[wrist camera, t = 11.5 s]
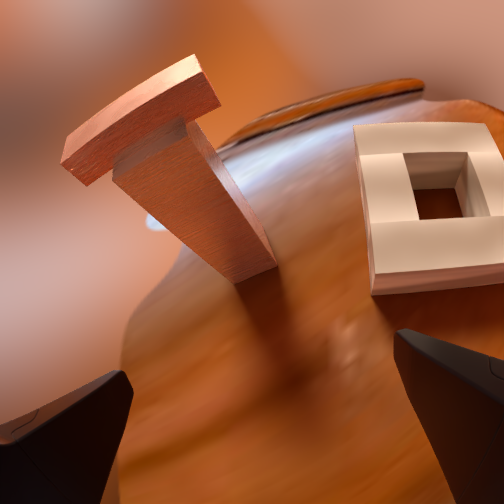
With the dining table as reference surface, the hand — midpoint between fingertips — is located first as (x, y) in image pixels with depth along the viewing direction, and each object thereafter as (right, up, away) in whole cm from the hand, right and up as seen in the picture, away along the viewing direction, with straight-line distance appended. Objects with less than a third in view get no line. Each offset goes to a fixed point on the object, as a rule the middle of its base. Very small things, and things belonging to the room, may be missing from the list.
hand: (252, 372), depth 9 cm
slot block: (+12, +6, +9) cm, 16 cm away
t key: (0, +3, +12) cm, 12 cm away
